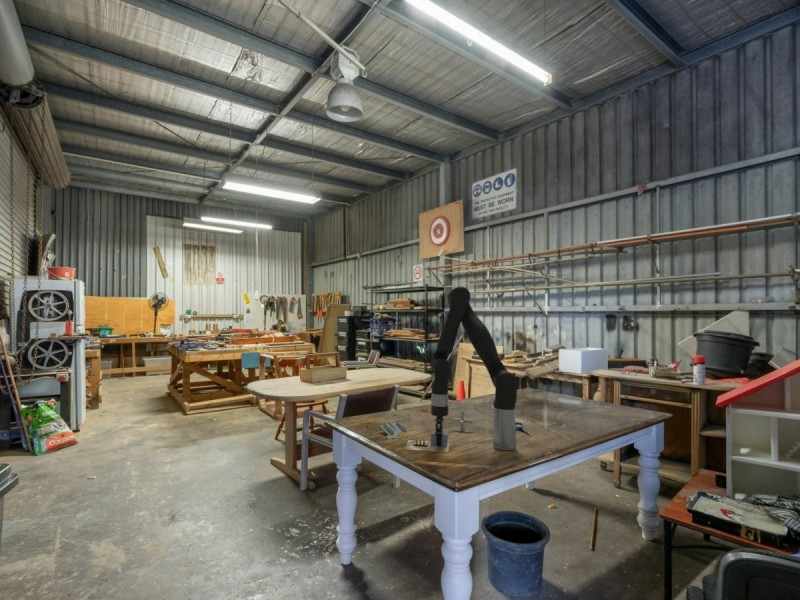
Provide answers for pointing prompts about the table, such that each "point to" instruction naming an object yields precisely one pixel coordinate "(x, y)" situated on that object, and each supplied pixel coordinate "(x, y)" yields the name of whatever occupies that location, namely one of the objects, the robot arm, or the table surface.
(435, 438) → the block
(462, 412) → the grey cross-shaped piece
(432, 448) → the board
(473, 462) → the table surface
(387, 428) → the metal bracket
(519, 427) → the bar clamp
